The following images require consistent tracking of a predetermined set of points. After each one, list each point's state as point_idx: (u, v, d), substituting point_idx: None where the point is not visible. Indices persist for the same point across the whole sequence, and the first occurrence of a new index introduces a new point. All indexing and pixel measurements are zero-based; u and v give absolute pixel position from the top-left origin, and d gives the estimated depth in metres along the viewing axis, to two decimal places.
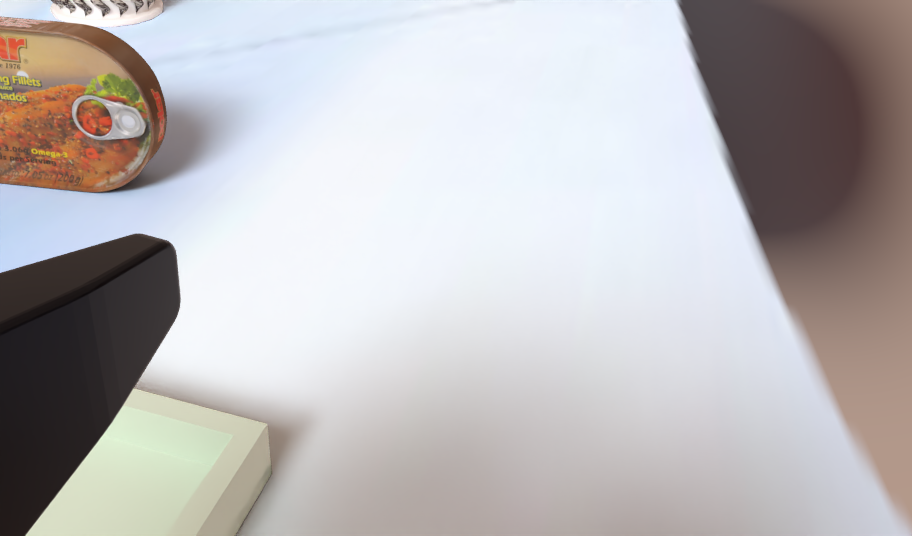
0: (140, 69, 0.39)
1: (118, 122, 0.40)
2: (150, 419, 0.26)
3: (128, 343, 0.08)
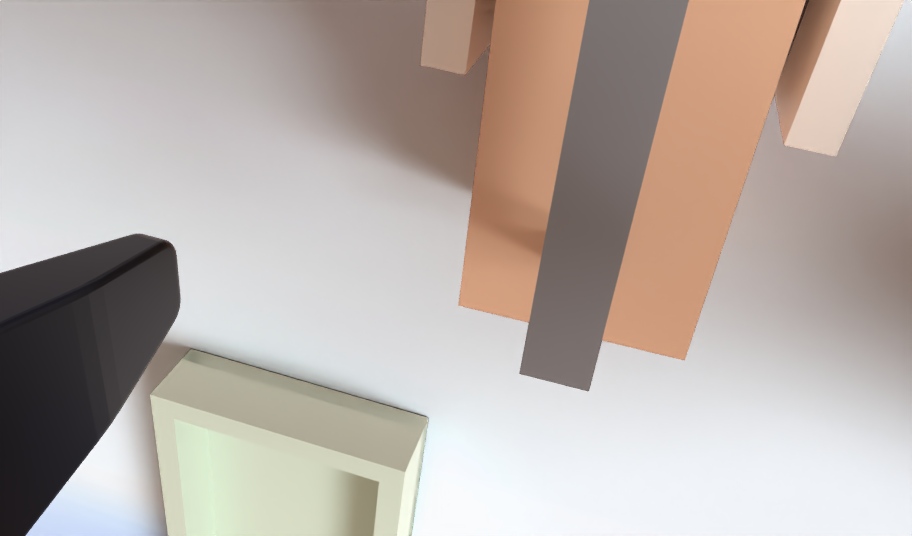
0: None
1: None
2: (186, 473, 0.28)
3: (128, 343, 0.08)
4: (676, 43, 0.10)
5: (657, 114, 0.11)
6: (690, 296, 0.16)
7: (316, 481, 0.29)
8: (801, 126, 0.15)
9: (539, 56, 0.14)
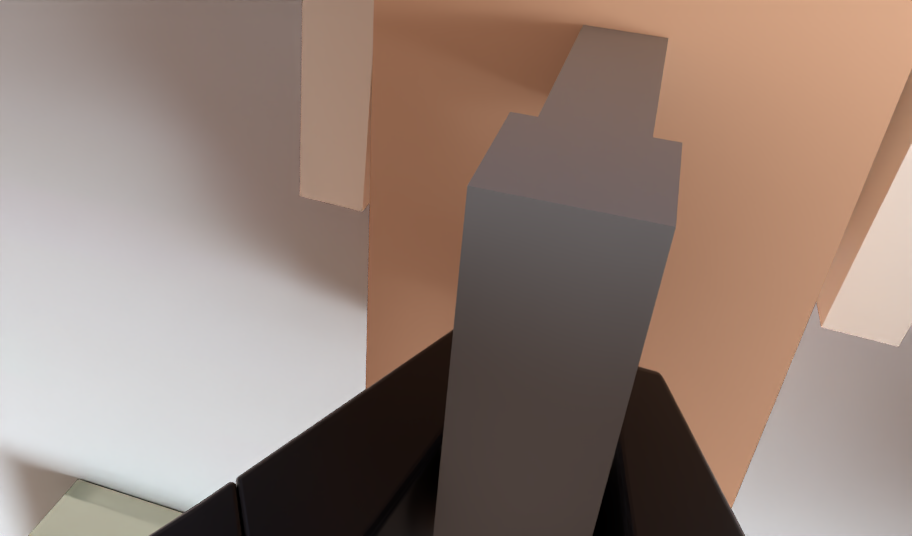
0: None
1: None
2: None
3: None
4: (640, 346, 0.05)
5: (610, 451, 0.05)
6: None
7: None
8: (848, 303, 0.10)
9: (444, 227, 0.09)
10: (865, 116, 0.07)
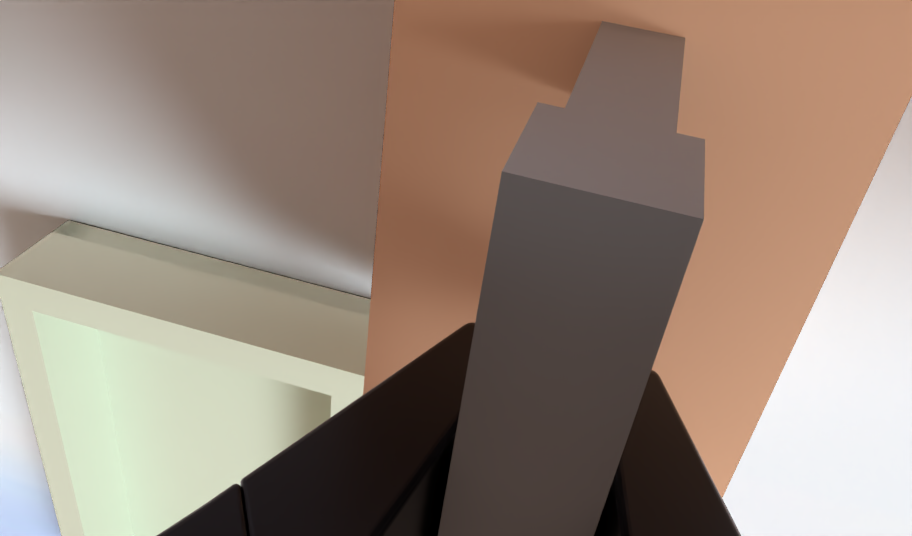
0: None
1: None
2: (65, 399, 0.20)
3: None
4: (661, 334, 0.05)
5: (623, 437, 0.06)
6: None
7: (253, 412, 0.21)
8: None
9: (453, 216, 0.09)
10: (873, 122, 0.07)
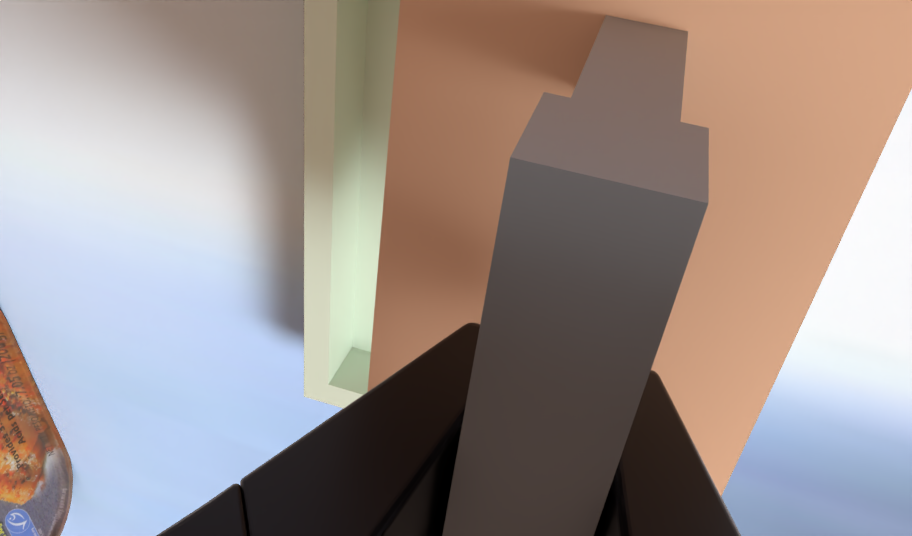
0: None
1: None
2: (340, 98, 0.19)
3: None
4: (666, 317, 0.05)
5: (628, 420, 0.06)
6: None
7: None
8: None
9: (458, 209, 0.09)
10: (873, 115, 0.08)
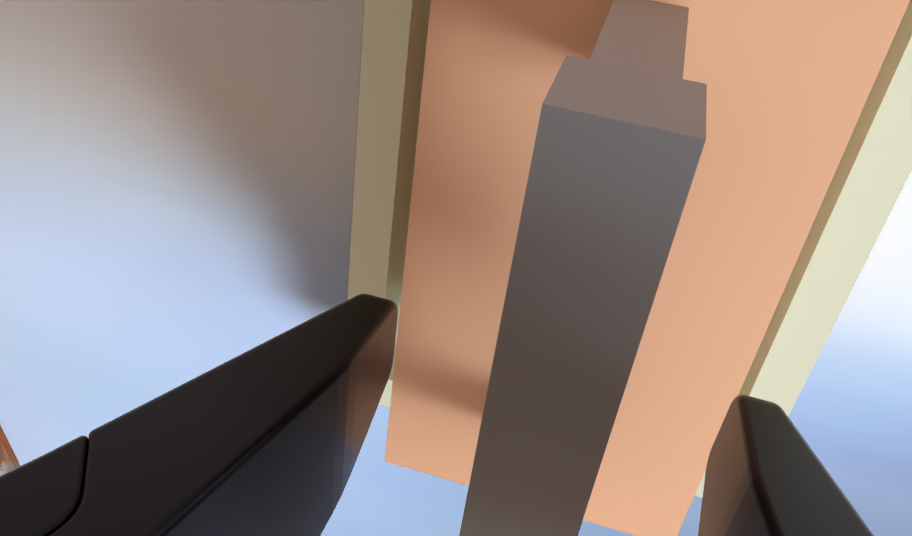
0: None
1: None
2: None
3: (362, 411, 0.08)
4: (671, 239, 0.06)
5: (639, 333, 0.07)
6: (682, 475, 0.12)
7: None
8: None
9: (482, 172, 0.10)
10: (852, 80, 0.09)
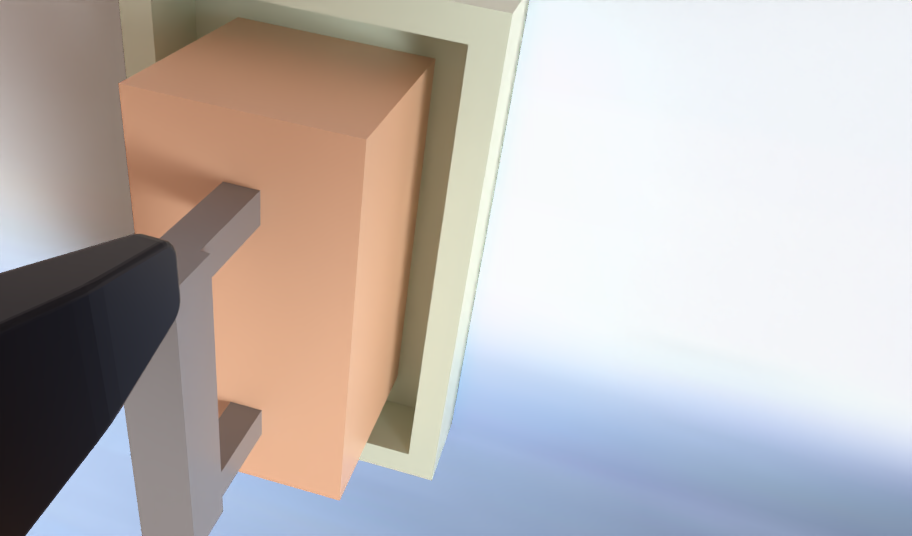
0: None
1: None
2: None
3: (128, 343, 0.08)
4: (175, 332, 0.13)
5: (180, 374, 0.14)
6: (331, 453, 0.19)
7: None
8: None
9: None
10: (349, 230, 0.16)
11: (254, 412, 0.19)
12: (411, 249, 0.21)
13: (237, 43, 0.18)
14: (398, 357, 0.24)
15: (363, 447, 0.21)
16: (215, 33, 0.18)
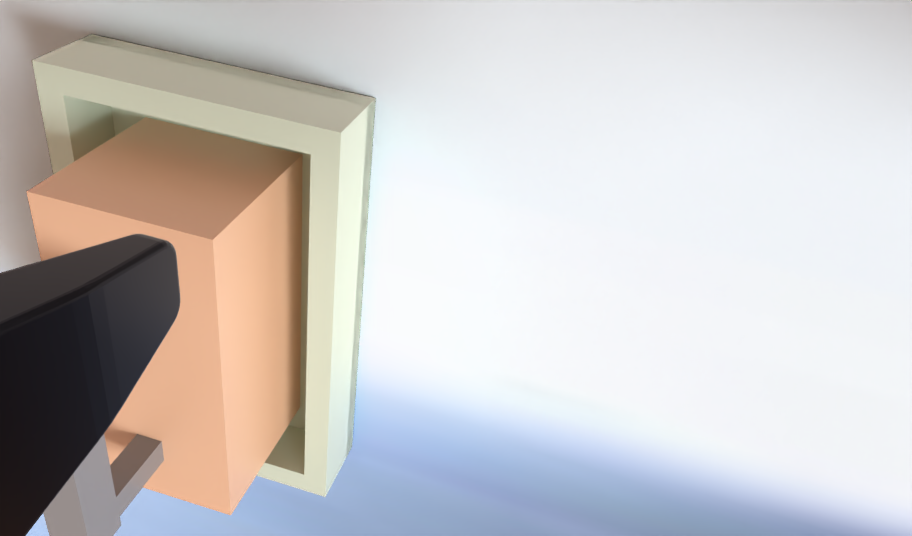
0: None
1: None
2: None
3: (128, 343, 0.08)
4: None
5: None
6: (219, 477, 0.23)
7: None
8: None
9: None
10: (209, 306, 0.20)
11: (155, 443, 0.23)
12: (299, 304, 0.26)
13: (136, 145, 0.22)
14: (298, 391, 0.28)
15: (258, 470, 0.26)
16: (120, 135, 0.22)
